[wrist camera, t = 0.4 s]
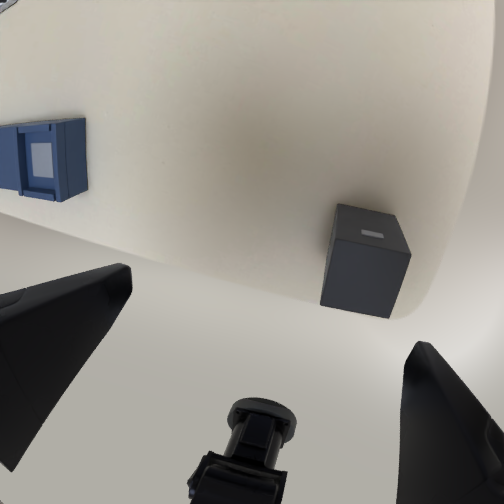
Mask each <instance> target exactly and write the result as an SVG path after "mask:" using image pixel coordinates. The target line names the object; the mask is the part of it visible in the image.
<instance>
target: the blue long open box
mask: <svg viewBox="0 0 504 504" xmlns="http://www.w3.org/2000/svg"><path fill="white" fill-rule="evenodd" d="M0 188H3V189H10V190H16V191H18V192H19V195H20V196H23V195H24V196H26V197H32V198H38V199H43V200H49V201H57V202H63V201H65V200H67V199H69V198H71V197H73V196H76V195H78V194H80V193H82V192H84V191H87V190H88V187H87V172H86V148H85V118H74V119H60V120H48V121H38V122H28V123H20V124H12V125H5V126H0Z"/></svg>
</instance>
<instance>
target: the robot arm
mask: <svg viewBox="0 0 504 504" xmlns="http://www.w3.org/2000/svg"><path fill="white" fill-rule="evenodd" d="M131 293H132V274H131V268H130V267H129V266H128V265H125V264H122V263H116V264H113V265H108V266H105V267H101V268H97V269H93V270H89V271H86V272H82V273H78V274H75V275H71V276H67V277H63V278H60V279H56V280H52V281H49V282H45V283H42V284H38V285H34V286H30V287H27V289H26V288H23V289H20V290H17V291H12V292H9V293H5V294H0V463H1V464H2V465H3V466H5V467H6V468H7V469H8V470H9V471H10V472H13V471H14V469H15V468H16V466H17V464H18V463H19V461H20V460H21V458H22V456H23V455H24V453H25V451H26V450H27V448H28V447H29V445H30V443H31V442H32V440H33V439H34V437H35V436H36V434H37V433H38V431H39V430H40V428H41V427H42V424H43V423H44V422H45V420H46V419H47V417H48V416H49V414H50V412H51V411H52V409H53V408H54V407H55V405H56V404H57V402H58V401H59V399H60V398H61V396H62V395H63V394H64V392H65V391H66V389H67V388H68V386H69V385H70V383H71V382H72V381H73V379H74V378H75V376H76V375H77V374H78V372H79V371H80V369H81V368H82V367H83V365H84V364H85V362H86V361H87V359H88V358H89V357H90V355H91V354H92V353H93V351H94V350H95V349H96V347H97V346H98V345H99V343H100V342H101V340H102V339H103V338H104V336H105V335H106V334H107V332H108V331H109V329H110V328H111V326H112V325H113V323H114V322H115V320H116V318H117V316H118V315H119V313H120V312H121V310H122V308H123V307H124V305H125V303H126V302H127V300H128V299H129V297H130V295H131ZM290 425H291V421H290V420H288V419H284V418H279V417H275V416H271V415H267V414H263V413H258V412H255V411H251V410H247V409H243V408H239V407H236V408H235V409H234V413H233V424H232V435H231V438H230V440H229V443H228V445H227V448H226V450H225V453H224V455H223V456H222V455H219V454H216V453H214V452H212V451H209V452H208V454H207V455H204V456H203V457H202V459H201V462H200V464H199V466H198V467H197V469H196V470H195V472H194V473H193V474H192V476H191V477H190V478H189V480H188V482H187V484H188V487H189V499H192V500H191V503H190V504H281V501H282V497H283V492H284V487H285V482H286V477H287V471H279V470H274V467H275V464H276V460H277V457H278V453H279V449H281V448H283V445H284V442H285V439H286V437H287V434H288V431H289V428H290ZM0 504H3V503H2V502H1V501H0ZM396 504H504V432H503V431H502V430H501V429H500V427H499V426H498V425H497V424H496V422H495V421H494V420H493V419H491V416H490V414H489V413H488V412H487V411H486V409H485V408H484V407H483V406H482V404H481V403H480V402H479V401H478V399H477V398H476V397H475V396H474V395H473V393H472V392H471V391H470V390H469V388H468V387H467V386H466V385H465V383H464V382H463V381H462V380H461V379H460V378H459V376H458V375H457V374H456V373H455V371H454V370H453V369H452V368H451V367H450V365H449V364H448V363H447V362H446V361H445V360H444V358H443V357H442V356H441V355H440V354H439V353H438V351H437V350H436V349H435V348H434V347H433V346H432V345H431V344H430V343H428V342H422V341H418V342H417V343H416V344H415V346H414V347H413V349H412V351H411V353H410V354H409V356H408V358H407V360H406V362H405V365H404V375H403V387H402V399H401V409H400V454H399V475H398V489H397V499H396Z"/></svg>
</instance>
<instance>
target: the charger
mask: <svg viewBox="0 0 504 504" xmlns="http://www.w3.org/2000/svg"><path fill="white" fill-rule="evenodd" d="M410 258H411V252H410V250H409V247H408V245H407V242H406V240H405V238H404V235H403V233H402V230H401V228H400V226H399V223H398V221H397V219H396V217H395V216H394V215H390V214H385V213H381V212H376V211H372V210H367V209H362V208H357V207H353V206H348V205H343V204H337V208H336V213H335V219H334V224H333V229H332V234H331V239H330V244H329V248H328V253H327V259H326V266H325V273H324V280H323V287H322V294H321V300H320V305H321V306H326V307H331V308H336V309H341V310H346V311H351V312H356V313H361V314H366V315H372V316H377V317H382V318H389V317H390V315H391V312H392V310H393V307H394V304H395V302H396V299H397V296H398V293H399V291H400V288H401V285H402V282H403V279H404V276H405V273H406V270H407V267H408V264H409V261H410Z"/></svg>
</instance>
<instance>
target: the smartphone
mask: <svg viewBox="0 0 504 504" xmlns="http://www.w3.org/2000/svg"><path fill="white" fill-rule="evenodd" d="M16 1H17V0H0V12H2V11H3V10H5V9H6V8H8V7H9V6H11V5H12V4H14V3H15V2H16Z"/></svg>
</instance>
